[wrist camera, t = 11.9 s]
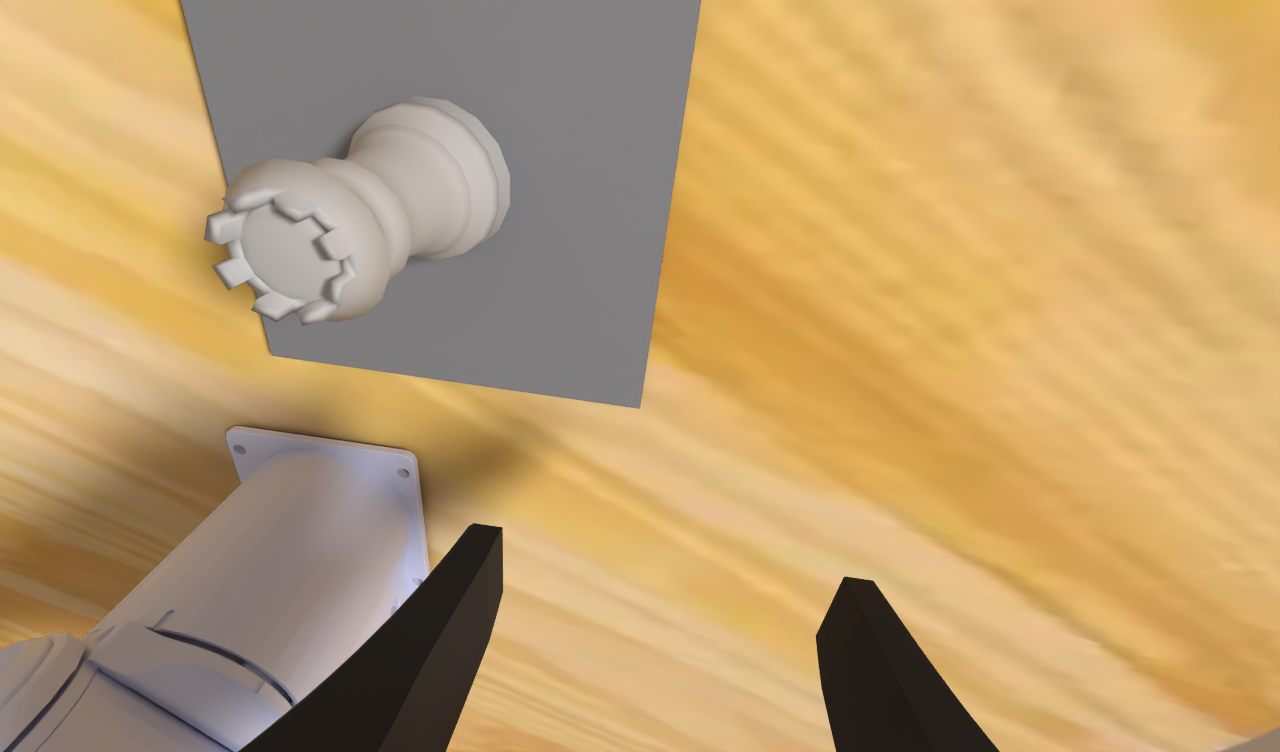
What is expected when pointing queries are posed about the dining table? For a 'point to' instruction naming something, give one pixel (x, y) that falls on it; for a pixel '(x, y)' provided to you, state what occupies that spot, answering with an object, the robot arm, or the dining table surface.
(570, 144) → the rubber mat
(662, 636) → the dining table surface
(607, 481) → the dining table surface
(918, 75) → the dining table surface
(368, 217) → the rook chess piece
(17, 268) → the dining table surface
